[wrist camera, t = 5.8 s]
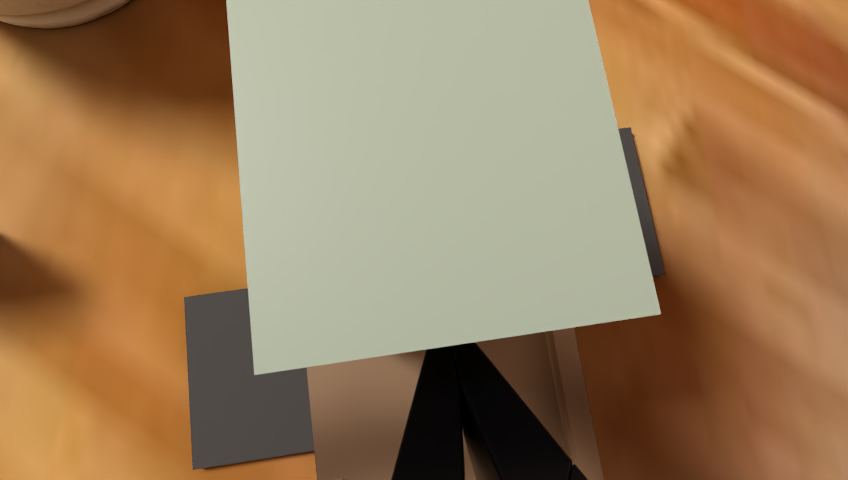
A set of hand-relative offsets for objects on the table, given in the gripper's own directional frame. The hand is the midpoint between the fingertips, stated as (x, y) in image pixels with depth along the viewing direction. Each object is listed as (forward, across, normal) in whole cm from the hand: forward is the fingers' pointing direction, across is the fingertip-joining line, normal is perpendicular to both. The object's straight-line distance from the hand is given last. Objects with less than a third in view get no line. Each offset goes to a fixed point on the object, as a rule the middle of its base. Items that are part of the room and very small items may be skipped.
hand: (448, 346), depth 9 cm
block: (+8, 0, +2) cm, 8 cm away
